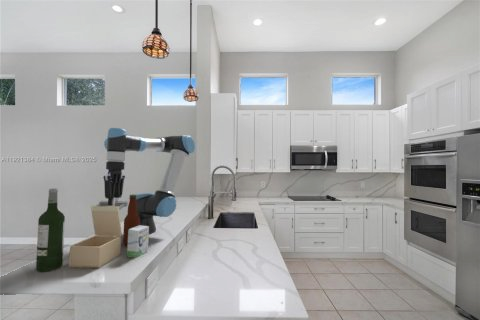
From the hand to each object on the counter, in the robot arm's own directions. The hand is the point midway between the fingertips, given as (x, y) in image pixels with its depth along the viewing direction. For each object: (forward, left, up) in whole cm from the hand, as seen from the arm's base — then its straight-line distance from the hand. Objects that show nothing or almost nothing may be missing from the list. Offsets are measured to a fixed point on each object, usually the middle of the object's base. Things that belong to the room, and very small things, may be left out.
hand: (112, 212), depth 107 cm
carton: (+10, 0, -18) cm, 21 cm away
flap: (+5, 0, -3) cm, 6 cm away
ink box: (+1, +13, -18) cm, 22 cm away
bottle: (-10, +4, -18) cm, 21 cm away
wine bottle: (+18, -13, -18) cm, 29 cm away
